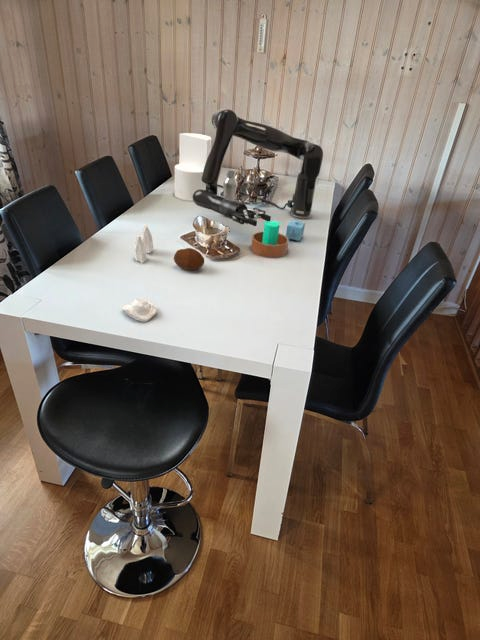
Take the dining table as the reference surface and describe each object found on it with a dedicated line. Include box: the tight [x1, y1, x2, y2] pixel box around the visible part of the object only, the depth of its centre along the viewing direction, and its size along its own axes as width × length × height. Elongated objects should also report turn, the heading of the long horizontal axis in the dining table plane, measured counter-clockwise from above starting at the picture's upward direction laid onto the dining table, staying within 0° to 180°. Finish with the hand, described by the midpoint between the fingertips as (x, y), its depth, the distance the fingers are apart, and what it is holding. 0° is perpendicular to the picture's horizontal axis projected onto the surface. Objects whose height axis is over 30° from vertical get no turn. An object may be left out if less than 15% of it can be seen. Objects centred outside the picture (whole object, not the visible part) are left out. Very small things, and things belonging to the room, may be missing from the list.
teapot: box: [285, 219, 306, 243], centre depth 182 cm, size 12×6×8 cm, turn 161°
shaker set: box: [133, 224, 154, 264], centre depth 156 cm, size 12×4×11 cm, turn 168°
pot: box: [250, 230, 290, 259], centre depth 172 cm, size 14×14×5 cm
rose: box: [121, 298, 158, 323], centre depth 126 cm, size 10×4×10 cm
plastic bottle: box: [222, 170, 238, 200], centre depth 196 cm, size 6×7×20 cm
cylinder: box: [174, 132, 212, 202], centre depth 214 cm, size 17×17×28 cm
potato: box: [173, 247, 205, 271], centre depth 152 cm, size 8×11×8 cm
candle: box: [262, 218, 281, 245], centre depth 169 cm, size 6×6×12 cm
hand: (263, 221), depth 170 cm, fingers open, 8 cm apart
